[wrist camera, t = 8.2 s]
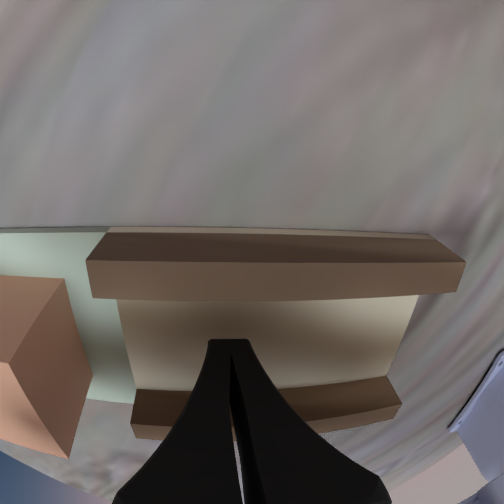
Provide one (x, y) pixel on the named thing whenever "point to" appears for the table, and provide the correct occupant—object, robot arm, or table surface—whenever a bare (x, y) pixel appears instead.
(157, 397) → the chute
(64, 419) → the block
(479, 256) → the table surface
